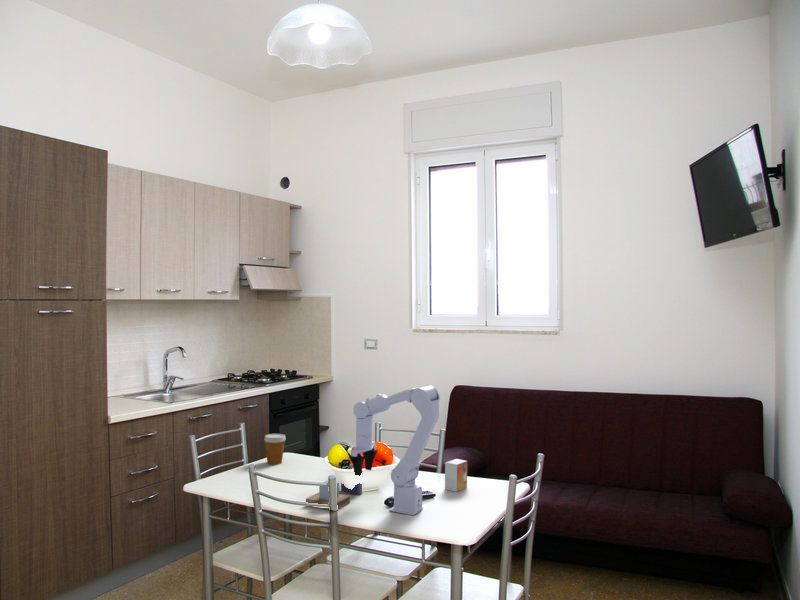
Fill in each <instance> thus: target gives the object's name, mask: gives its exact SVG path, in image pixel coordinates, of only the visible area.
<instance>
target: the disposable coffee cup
mask: <svg viewBox="0 0 800 600" xmlns="http://www.w3.org/2000/svg"><path fill="white" fill-rule="evenodd" d="M286 439H287V438H286V434H284V433H283V434H282V433H268V434H265V436H264V439H263V440H264V442H265V452H266V454H265V455H266V463H267V464H268V465H275V466H277V465H280V464H282V463H283V456H284V448H285V443H286Z"/></svg>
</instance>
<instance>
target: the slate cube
mask: <svg viewBox="0 0 800 600" xmlns="http://www.w3.org/2000/svg"><path fill="white" fill-rule="evenodd" d="M328 481H329V480H325V481H324V482H322V483H328ZM336 482H337V497H339V494H340V482H339V481H336ZM318 488H319V489H318V490H319V492H318V493H319V499H325V500H329V491H328V486H318Z"/></svg>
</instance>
